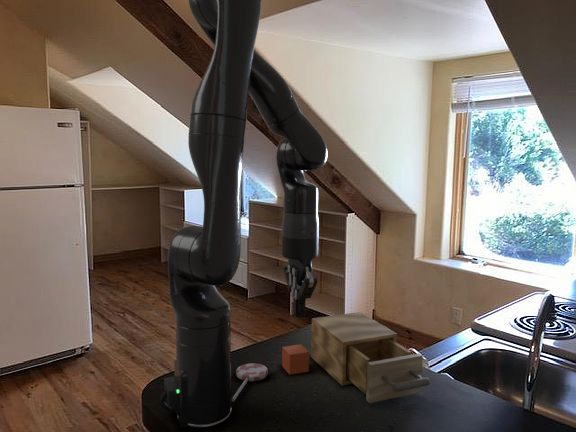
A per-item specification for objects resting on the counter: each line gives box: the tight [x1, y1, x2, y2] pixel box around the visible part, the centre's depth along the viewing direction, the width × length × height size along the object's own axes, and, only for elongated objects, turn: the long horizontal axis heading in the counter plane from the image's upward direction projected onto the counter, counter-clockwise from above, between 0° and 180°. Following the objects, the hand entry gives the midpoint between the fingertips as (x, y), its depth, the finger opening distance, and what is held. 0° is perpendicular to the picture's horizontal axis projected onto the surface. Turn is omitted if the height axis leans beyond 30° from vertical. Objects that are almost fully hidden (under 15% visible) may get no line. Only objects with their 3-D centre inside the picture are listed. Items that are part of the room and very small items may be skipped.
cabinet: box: [310, 311, 398, 386], centre depth 103 cm, size 15×13×9 cm
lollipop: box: [231, 362, 269, 402], centre depth 95 cm, size 7×1×15 cm
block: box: [281, 343, 310, 376], centre depth 102 cm, size 4×4×4 cm
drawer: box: [346, 338, 430, 404], centre depth 92 cm, size 18×11×7 cm, turn 22°
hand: (299, 315), depth 100 cm, fingers closed
